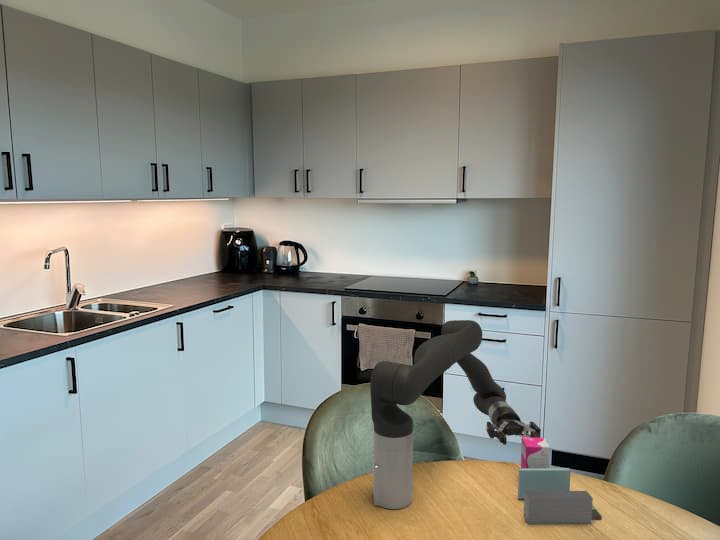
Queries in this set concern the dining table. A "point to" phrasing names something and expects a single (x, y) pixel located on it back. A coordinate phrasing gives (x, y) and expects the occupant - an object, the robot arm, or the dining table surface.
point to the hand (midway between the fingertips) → (521, 441)
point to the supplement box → (534, 453)
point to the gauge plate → (543, 480)
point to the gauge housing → (559, 507)
